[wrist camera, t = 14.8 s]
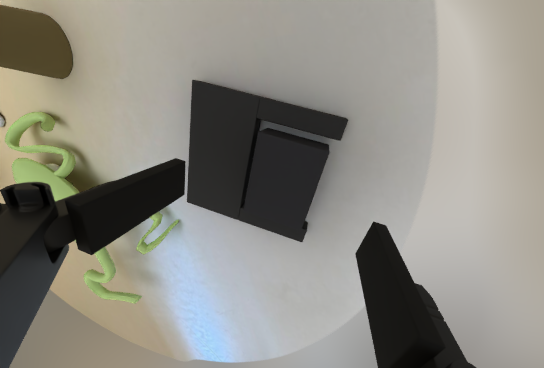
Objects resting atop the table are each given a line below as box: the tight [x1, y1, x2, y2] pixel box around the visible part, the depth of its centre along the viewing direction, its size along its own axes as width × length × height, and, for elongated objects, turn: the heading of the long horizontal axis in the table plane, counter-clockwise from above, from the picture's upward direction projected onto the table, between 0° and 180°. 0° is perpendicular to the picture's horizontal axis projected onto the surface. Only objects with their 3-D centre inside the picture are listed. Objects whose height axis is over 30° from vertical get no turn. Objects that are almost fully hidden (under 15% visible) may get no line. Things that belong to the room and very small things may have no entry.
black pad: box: [187, 80, 348, 242], centre depth 20 cm, size 14×13×2 cm
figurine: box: [5, 112, 178, 304], centre depth 27 cm, size 18×27×6 cm
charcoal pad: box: [243, 128, 329, 231], centre depth 19 cm, size 6×8×3 cm
